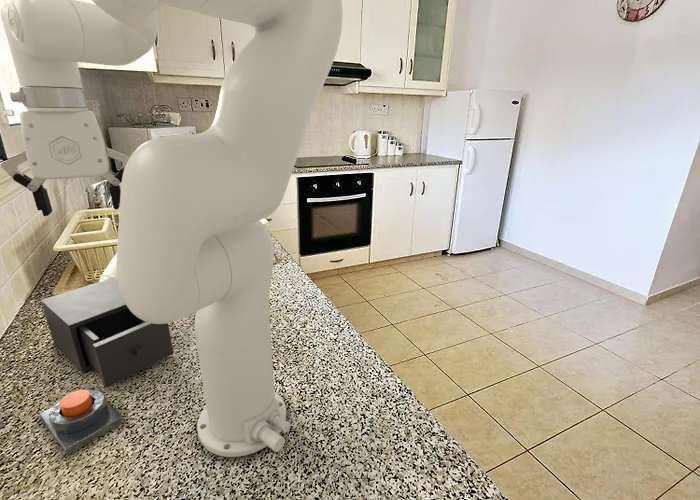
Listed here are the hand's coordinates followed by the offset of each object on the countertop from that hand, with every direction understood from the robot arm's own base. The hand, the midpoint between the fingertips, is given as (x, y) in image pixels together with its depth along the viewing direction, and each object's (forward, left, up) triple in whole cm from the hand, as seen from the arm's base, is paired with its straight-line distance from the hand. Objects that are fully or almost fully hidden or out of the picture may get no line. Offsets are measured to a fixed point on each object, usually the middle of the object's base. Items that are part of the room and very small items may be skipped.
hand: (83, 210), depth 63 cm
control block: (-16, +12, -27) cm, 33 cm away
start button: (-16, +12, -24) cm, 31 cm away
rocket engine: (+21, -9, -27) cm, 35 cm away
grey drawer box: (+2, +1, -27) cm, 27 cm away
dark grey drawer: (-7, +1, -26) cm, 27 cm away
